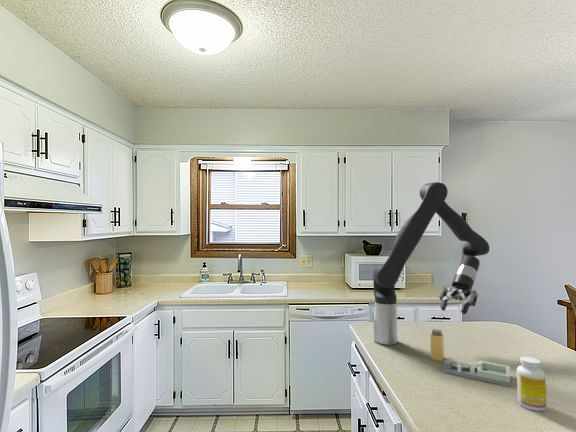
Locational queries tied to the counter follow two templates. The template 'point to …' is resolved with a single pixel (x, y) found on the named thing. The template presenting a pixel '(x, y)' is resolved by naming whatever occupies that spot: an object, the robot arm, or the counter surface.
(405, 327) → the counter surface
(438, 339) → the block
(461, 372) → the board
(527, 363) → the supplement bottle
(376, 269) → the robot arm
